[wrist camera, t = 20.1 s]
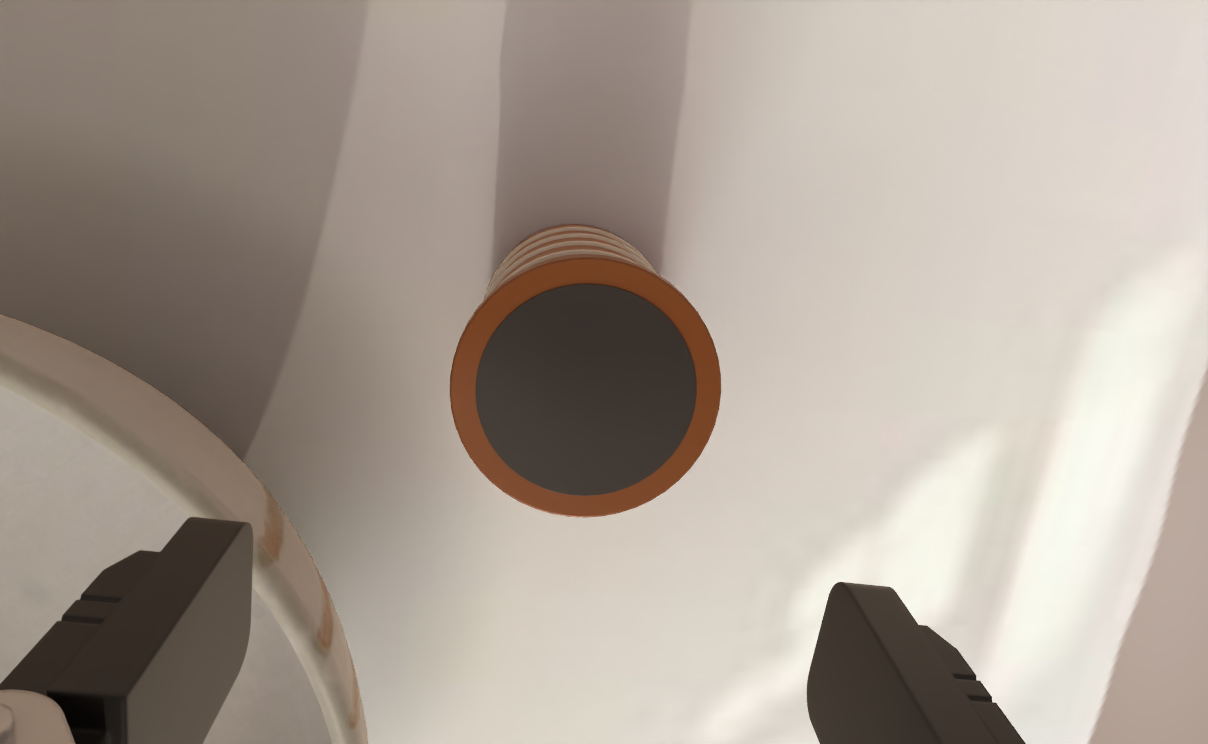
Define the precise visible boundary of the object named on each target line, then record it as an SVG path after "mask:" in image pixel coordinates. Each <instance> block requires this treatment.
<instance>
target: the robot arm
mask: <svg viewBox="0 0 1208 744" xmlns="http://www.w3.org/2000/svg"><path fill="white" fill-rule="evenodd" d="M252 569H253V530H252V526H251V524H250V523H248V522H240V521H230V520H220V519H210V518H200V517H190V518H188V519H187V520H186V521H185V522H184V523H183V525H182V526H181V527H180V528H179V529H178V531H177V532H176V533H175V534H174V536H173V537H172V538H171V539H170V540H169V542H168V543H167V544H166V545H165V547H164V548H163V549H162V550H161V551H160V552H155V551H144V550H139V551H137V552H135V553H133V554H132V555H130V556H128V557H126V558H124V559H122V560H121V561H119V562H117V563H115V564H113V565H111V566H110V567H108V568H106V569H104V570H103V571H102V572H101V573H100V574H99V575H98V576H97V578H96V579H95V580H94V581H93V582H92V583H91V584H90V585H89V586H88V588H87V589H86V590H85V591H84V592H83V593H82V594H81V598H80V600H76V601H75V602H74V603H73V604H72V605H71V606H70V607H69V609H68V610H67V611H66V612H65V613H64V614H63V615H62V619H61V621H57V622H56V623H55V624H54V625H53V626H52V627H51V628H50V630H49V631H48V632H47V633H46V634H45V635H44V636H43V637H42V638H41V639H40V641H39V642H38V643H37V644H36V645H35V646H34V647H33V648H32V649H31V651H30V652H29V653H28V654H27V655H26V656H25V657H24V658H23V659H22V660H21V662H20V663H19V664H18V665H17V666H16V667H15V668H14V669H13V670H12V672H11V673H10V674H9V675H8V676H7V677H6V678H5V679H4V680H3V681H2V683H1V684H0V744H203V742H204V740H205V738H206V736H207V734H208V732H209V731H210V729H211V727H212V725H213V723H214V721H215V719H216V717H217V715H218V713H219V711H220V709H221V707H222V705H223V703H224V702H225V700H226V698H227V696H228V694H229V692H230V690H231V688H232V686H233V684H234V682H235V680H236V678H237V676H238V674H239V672H240V670H241V667H242V665H243V662H244V658H245V655H246V651H247V647H248V642H249V636H250V627H251V602H252ZM807 705H808V712H809V716H810V720H811V723H812V725H813V728H814V730H815V733H816V735H817V737H818V740H819V742H820V744H1025V742H1024V741H1023V739H1022V738H1021V737H1020V735H1019V734H1018V733H1017V731H1016V730H1015V728H1014V727H1013V726H1012V724H1011V723H1010V722H1009V720H1008V719H1007V717H1006V716H1005V715H1004V713H1003V712H1002V710H1001V709H1000V708H999V706H998V705H997V704H996V703H992V697H991V695H990V694H989V693H988V691H987V690H986V688H985V687H984V686H983V684H982V683H981V682H980V681H976V675H975V673H974V672H973V671H972V669H971V668H970V666H969V665H968V664H967V662H966V661H965V660H964V658H963V657H962V655H961V654H960V653H959V651H958V650H957V649H956V648H955V647H953V646H952V645H951V644H949V643H948V642H947V641H946V640H944V639H943V638H942V637H941V636H939V635H938V634H937V633H935V632H934V631H933V630H932V629H930V628H929V627H928V626H924V625H918V624H917V622H916V621H915V619H914V618H913V616H912V615H911V613H910V612H909V611H908V609H907V608H906V606H905V605H904V603H903V602H902V600H901V599H900V597H899V596H898V595H897V593H896V592H895V591H894V589H892V588H890V587H885V586H875V585H864V584H854V583H844V582H838V583H836V584H835V585H834V586H833V588H832V590H831V592H830V594H829V597H828V601H827V605H826V609H825V612H824V616H823V620H822V624H821V628H820V632H819V636H818V640H817V644H816V648H815V651H814V655H813V659H812V663H811V667H810V671H809V676H808V682H807Z"/></svg>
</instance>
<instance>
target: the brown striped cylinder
mask: <svg viewBox="0 0 1208 744" xmlns="http://www.w3.org/2000/svg"><path fill="white" fill-rule="evenodd" d="M720 396H721V374H720V367H719V360H718V356H717V353H716V349H715V346H714V342H713V340H712V338H711V336H710V333H709V331H708V329H707V327H706V325H705V323H704V322H703V320H702V319H701V317H700V315H699V314H698V312H697V311H696V310H695V308H694V307H693V306H692V305H691V304H690V303H689V301H688V300H687V299H686V298H685V297H684V295H683V294H682V293H681V292H679V291H678V290H677V289H676V288H675V287H674V286H673V285H672V284H671V283H669V282H668V281H667V280H665V279H664V278H662V277H661V276H659V275H658V274H657V273H656V272H655V270H654V269H653V268H652V266H651V265H650V264H649V262H648V261H647V260H646V259H645V258H644V256H643V255H642V254H641V253H640V252H638V251H637V250H636V249H635V248H634V247H633V246H631V245H630V244H629V243H627V242H626V241H624V240H623V239H621V238H619V237H618V236H616V235H614V234H612V233H610V232H608V231H606V230H603V229H600V228H597V227H593V226H588V225H578V224H570V225H560V226H555V227H551V228H548V229H544V230H541V231H539V232H537V233H535V234H533V235H531V236H530V237H528V238H527V239H525V240H524V241H522V242H521V243H520V244H519V245H517V246H516V247H515V248H514V249H513V250H512V251H511V252H510V253H509V255H508V256H507V257H506V258H505V259H504V260H503V261H502V263H501V264H500V265H499V267H498V268H497V270H496V271H495V273H494V275H493V277H492V279H491V281H490V283H489V286H488V289H487V292H486V294H485V297H484V300H483V302H482V303H481V304H480V305H479V306H478V308H477V309H476V311H475V312H474V314H473V315H472V317H471V318H470V320H469V321H468V323H467V325H466V327H465V329H464V332H463V334H462V336H461V338H460V340H459V343H458V346H457V349H456V352H455V355H454V359H453V364H452V370H451V375H450V399H451V409H452V414H453V418H454V422H455V426H456V429H457V431H458V434H459V436H460V439H461V442H462V444H463V445H464V447H465V449H466V451H467V452H468V454H469V456H470V458H471V459H472V460H473V462H474V463H475V464H476V466H477V467H478V468H479V470H480V471H481V472H482V473H483V474H484V475H485V476H486V477H487V478H488V479H489V480H490V481H491V482H492V483H493V484H494V485H496V486H497V487H498V488H499V489H501V490H502V491H503V492H504V493H506V494H508V495H509V496H511V497H513V498H514V499H516V500H518V501H519V502H521V503H524V504H526V505H528V506H530V507H533V508H535V509H538V510H541V511H545V512H548V513H551V514H557V515H563V516H568V517H597V516H605V515H611V514H616V513H620V512H623V511H626V510H629V509H633V508H635V507H638V506H640V505H642V504H644V503H646V502H648V501H651V500H652V499H654V498H655V497H657V496H659V495H660V494H662V493H663V492H665V491H666V490H668V489H669V488H670V487H671V486H672V485H674V484H675V483H676V482H677V481H679V480H680V479H681V478H682V476H683V475H684V474H685V473H686V472H687V471H688V470H689V469H690V468H691V467H692V465H693V464H694V463H695V461H696V460H697V459H698V457H699V456H700V455H701V453H702V451H703V449H704V447H705V446H706V444H707V442H708V440H709V438H710V435H711V433H712V431H713V428H714V426H715V422H716V418H717V414H718V410H719V404H720Z"/></svg>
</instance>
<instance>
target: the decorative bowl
mask: <svg viewBox="0 0 1208 744" xmlns="http://www.w3.org/2000/svg"><path fill="white" fill-rule="evenodd" d="M190 517H200V518H210V519H220V520H230V521H240V522H248V523H250V524H251V526H252V530H253V569H252V602H251V627H250V636H249V642H248V647H247V651H246V655H245V658H244V662H243V665H242V667H241V670H240V672H239V674H238V676H237V678H236V680H235V682H234V684H233V686H232V688H231V690H230V692H229V694H228V696H227V698H226V700H225V702H224V703H223V705H222V707H221V709H220V711H219V713H218V715H217V717H216V719H215V721H214V723H213V725H212V727H211V729H210V731H209V732H208V734H207V736H206V738H205V740H204V742H203V744H368V737H367V728H366V722H365V716H364V711H363V706H362V701H361V697H360V692H359V687H358V682H357V677H356V673H355V669H354V665H353V661H352V658H351V654H350V651H349V648H348V645H347V641H346V638H345V635H344V632H343V628H342V625H341V622H340V620H339V617H338V615H337V612H336V610H335V607H334V605H333V602H332V600H331V597H330V595H329V593H328V590H327V588H326V585H325V583H324V581H323V579H322V577H321V575H320V573H319V571H318V569H317V567H316V565H315V563H314V561H313V559H312V557H311V556H310V554H309V552H308V550H307V548H306V547H305V545H304V543H303V542H302V540H301V539H300V537H299V535H298V534H297V532H296V530H295V529H294V527H293V525H292V524H291V522H290V521H289V519H288V518H287V517H286V515H285V514H284V512H283V511H282V510H281V508H280V507H279V506H278V504H277V503H276V501H275V500H274V499H273V497H272V496H271V495H270V493H269V492H268V491H267V490H266V488H265V487H264V486H263V485H262V484H261V482H260V481H259V480H258V479H257V478H256V476H255V475H254V474H253V473H252V472H251V471H250V469H249V468H248V467H247V466H246V465H245V464H244V463H243V462H242V461H241V460H240V459H239V458H238V457H237V456H236V455H235V454H234V453H233V452H232V451H231V450H230V449H229V448H228V447H227V446H226V445H225V444H224V443H223V442H222V441H221V440H220V439H219V438H218V437H217V436H215V435H214V434H213V433H212V432H211V431H210V430H209V429H208V428H206V427H205V426H204V425H203V424H202V423H201V422H200V421H199V420H197V419H196V418H195V417H193V416H192V415H191V414H189V413H188V412H187V411H186V410H184V409H183V408H182V407H180V406H179V405H178V404H176V403H175V402H174V401H173V400H171V399H170V398H168V397H167V396H165V395H164V394H162V393H161V392H159V391H158V390H156V389H155V388H153V387H152V386H150V385H149V384H147V383H146V382H144V381H143V380H141V379H140V378H138V377H136V376H135V375H133V374H131V373H129V372H128V371H126V370H124V369H122V368H121V367H119V366H117V365H115V364H114V363H112V362H110V361H108V360H107V359H105V358H103V357H101V356H99V355H97V354H95V353H93V352H91V351H89V350H86V349H84V348H82V347H80V346H78V345H76V344H74V343H72V342H70V341H68V340H66V339H63V338H61V337H58V336H56V335H54V334H51V333H49V332H46V331H44V330H41V329H39V328H37V327H34V326H32V325H29V324H27V323H24V322H21V321H18V320H15V319H12V318H9V317H7V316H4V315H1V314H0V684H1V683H2V681H3V680H4V679H5V678H6V677H7V676H8V675H9V674H10V673H11V672H12V670H13V669H14V668H15V667H16V666H17V665H18V664H19V663H20V662H21V660H22V659H23V658H24V657H25V656H26V655H27V654H28V653H29V652H30V651H31V649H32V648H33V647H34V646H35V645H36V644H37V643H38V642H39V641H40V639H41V638H42V637H43V636H44V635H45V634H46V633H47V632H48V631H49V630H50V628H51V627H52V626H53V625H54V624H55V623H56V622H57V621H61V619H62V615H63V614H64V613H65V612H66V611H67V610H68V609H69V607H70V606H71V605H72V604H73V603H74V602H75V601H76V600H80V598H81V594H82V593H83V592H84V591H85V590H86V589H87V588H88V586H89V585H90V584H91V583H92V582H93V581H94V580H95V579H96V578H97V576H98V575H99V574H100V573H101V572H102V571H103V570H104V569H106V568H108V567H110V566H111V565H113V564H115V563H117V562H119V561H121V560H122V559H124V558H126V557H128V556H130V555H132V554H133V553H135V552H137V551H139V550H144V551H155V552H160V551H161V550H162V549H163V548H164V547H165V545H166V544H167V543H168V542H169V540H170V539H171V538H172V537H173V536H174V534H175V533H176V532H177V531H178V529H179V528H180V527H181V526H182V525H183V523H184V522H185V521H186V520H187V519H188V518H190Z"/></svg>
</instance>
